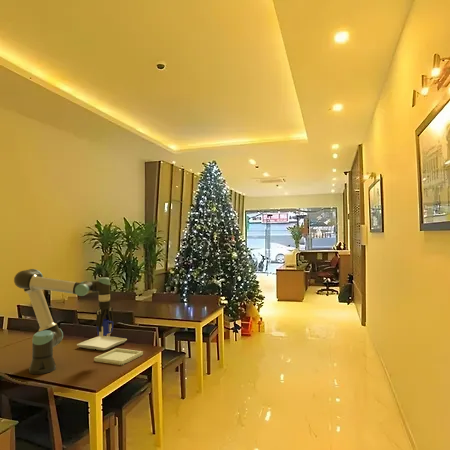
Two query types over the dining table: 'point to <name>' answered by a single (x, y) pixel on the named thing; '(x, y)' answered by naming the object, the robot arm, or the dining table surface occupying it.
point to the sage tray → (118, 356)
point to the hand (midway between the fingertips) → (105, 334)
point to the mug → (105, 327)
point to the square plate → (101, 342)
